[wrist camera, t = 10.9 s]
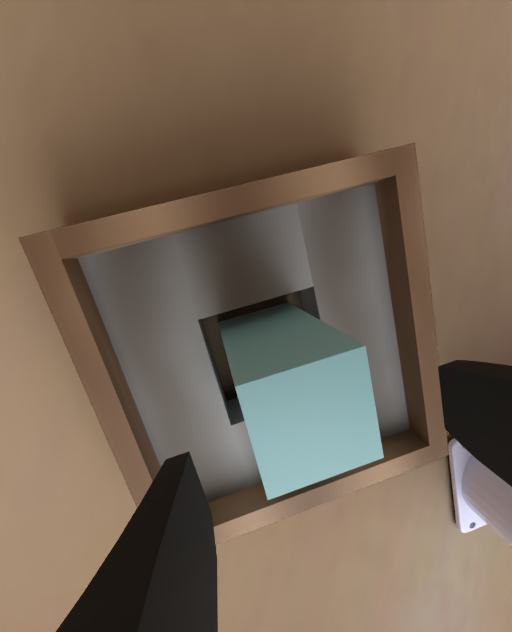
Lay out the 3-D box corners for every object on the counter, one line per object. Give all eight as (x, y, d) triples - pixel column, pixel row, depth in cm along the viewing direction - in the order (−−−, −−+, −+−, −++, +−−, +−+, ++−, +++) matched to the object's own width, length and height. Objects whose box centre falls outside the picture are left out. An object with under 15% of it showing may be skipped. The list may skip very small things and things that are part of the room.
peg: (288, 302, 17) (365, 345, 9) (302, 367, 18) (383, 457, 10) (217, 322, 16) (234, 386, 8) (236, 388, 17) (267, 500, 9)
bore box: (362, 169, 16) (414, 142, 12) (399, 414, 19) (448, 455, 16) (68, 241, 14) (18, 237, 10) (170, 496, 18) (162, 565, 14)
